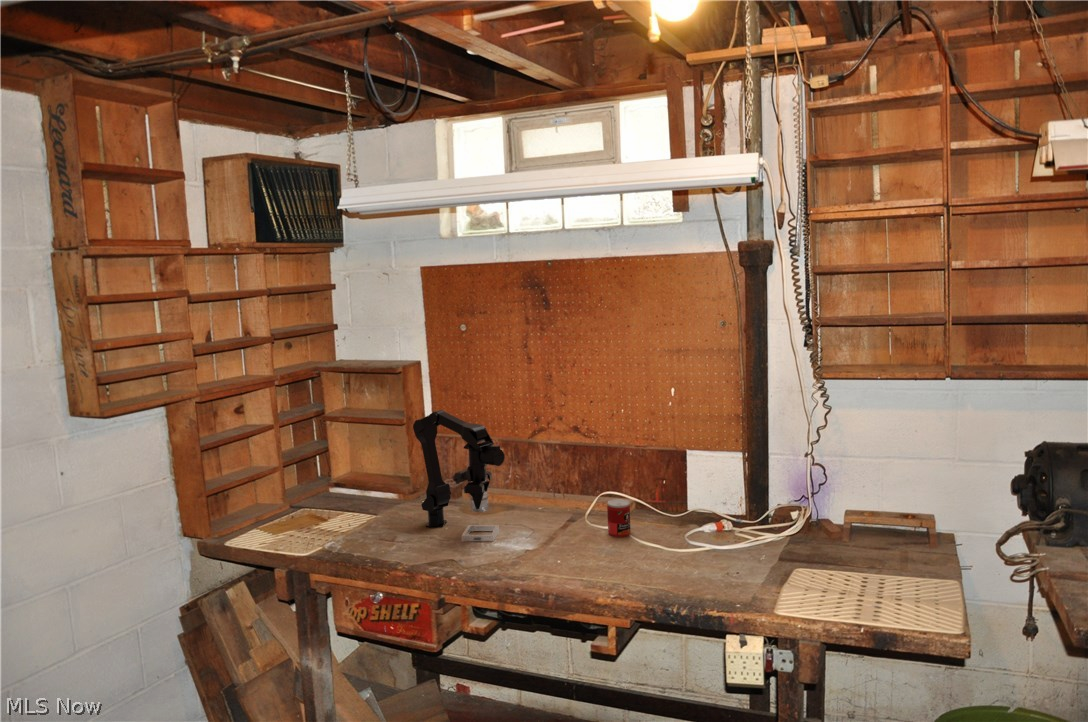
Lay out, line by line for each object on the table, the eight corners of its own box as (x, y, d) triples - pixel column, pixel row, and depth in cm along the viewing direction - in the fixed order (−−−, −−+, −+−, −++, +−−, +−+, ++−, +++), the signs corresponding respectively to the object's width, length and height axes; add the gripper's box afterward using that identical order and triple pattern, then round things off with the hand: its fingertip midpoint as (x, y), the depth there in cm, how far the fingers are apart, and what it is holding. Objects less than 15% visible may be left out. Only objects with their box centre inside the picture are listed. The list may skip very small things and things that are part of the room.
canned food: (620, 539, 269) (619, 507, 268) (603, 533, 275) (602, 502, 274) (635, 533, 274) (634, 502, 273) (618, 528, 280) (617, 497, 279)
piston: (473, 506, 280) (472, 490, 280) (490, 506, 280) (489, 490, 279) (469, 512, 274) (468, 495, 274) (486, 512, 274) (485, 495, 273)
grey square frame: (468, 530, 284) (468, 525, 283) (499, 530, 282) (498, 525, 282) (461, 541, 272) (461, 536, 272) (493, 542, 271) (492, 536, 271)
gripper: (460, 455, 285) (462, 498, 287) (448, 469, 267) (450, 514, 269) (491, 455, 284) (493, 498, 286) (480, 469, 265) (482, 514, 267)
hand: (479, 506), depth 277 cm, fingers closed on piston, 6 cm apart
